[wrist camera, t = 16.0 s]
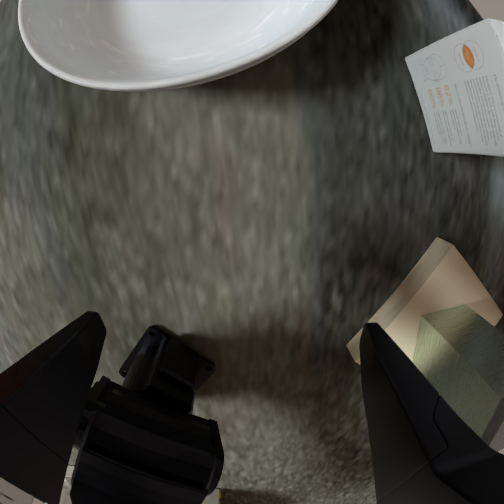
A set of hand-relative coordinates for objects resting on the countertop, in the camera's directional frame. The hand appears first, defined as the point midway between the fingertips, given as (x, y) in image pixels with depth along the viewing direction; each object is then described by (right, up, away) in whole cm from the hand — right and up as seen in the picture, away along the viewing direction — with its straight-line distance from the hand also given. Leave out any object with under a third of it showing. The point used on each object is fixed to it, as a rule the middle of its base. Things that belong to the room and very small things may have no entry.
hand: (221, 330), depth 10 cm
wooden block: (+17, -4, +16) cm, 24 cm away
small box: (+16, +15, +10) cm, 24 cm away
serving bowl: (-4, +22, +7) cm, 24 cm away
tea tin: (+17, -5, +13) cm, 22 cm away
